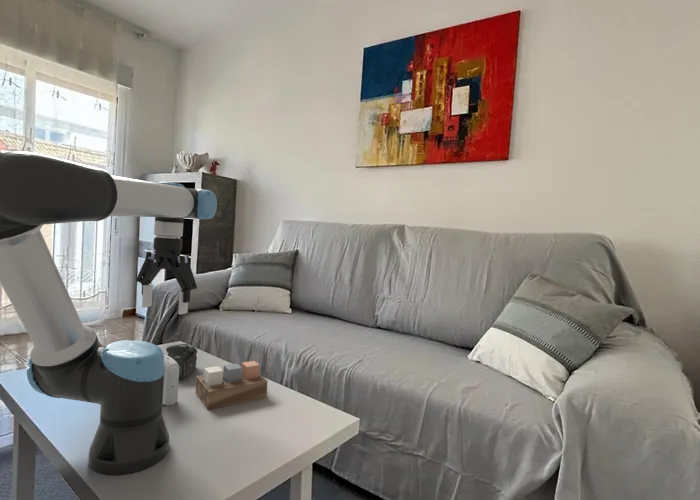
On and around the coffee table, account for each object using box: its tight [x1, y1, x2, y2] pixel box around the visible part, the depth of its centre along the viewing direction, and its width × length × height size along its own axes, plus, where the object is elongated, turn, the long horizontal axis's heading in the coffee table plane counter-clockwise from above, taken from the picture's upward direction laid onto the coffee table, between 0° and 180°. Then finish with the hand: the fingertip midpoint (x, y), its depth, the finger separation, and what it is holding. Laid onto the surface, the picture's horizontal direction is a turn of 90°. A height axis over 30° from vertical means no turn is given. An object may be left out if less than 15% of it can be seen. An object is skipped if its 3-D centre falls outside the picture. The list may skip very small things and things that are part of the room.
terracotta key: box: [240, 360, 260, 380], centre depth 120 cm, size 4×4×5 cm
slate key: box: [222, 362, 242, 383], centre depth 116 cm, size 4×4×5 cm
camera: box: [166, 343, 198, 380], centre depth 130 cm, size 13×10×10 cm
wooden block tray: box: [195, 373, 268, 411], centre depth 117 cm, size 12×17×5 cm
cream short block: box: [203, 365, 223, 387], centre depth 113 cm, size 4×4×5 cm
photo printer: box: [162, 354, 180, 406], centre depth 111 cm, size 10×4×12 cm, turn 56°
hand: (164, 310), depth 115 cm, fingers open, 13 cm apart
